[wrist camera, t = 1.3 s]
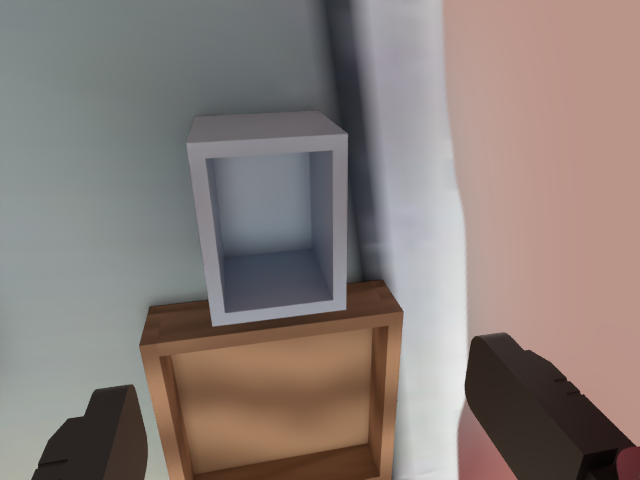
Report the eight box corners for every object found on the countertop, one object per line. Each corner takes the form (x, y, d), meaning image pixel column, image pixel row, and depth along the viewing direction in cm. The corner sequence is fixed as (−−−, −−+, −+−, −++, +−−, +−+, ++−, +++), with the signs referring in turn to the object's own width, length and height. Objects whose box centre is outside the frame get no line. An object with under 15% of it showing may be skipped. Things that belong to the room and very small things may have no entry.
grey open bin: (195, 116, 21) (186, 143, 16) (318, 110, 22) (347, 133, 17) (214, 263, 25) (212, 326, 19) (320, 252, 26) (346, 309, 20)
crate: (149, 307, 25) (139, 345, 22) (382, 279, 27) (403, 311, 24) (184, 474, 31) (180, 524, 28) (374, 440, 33) (390, 482, 30)
